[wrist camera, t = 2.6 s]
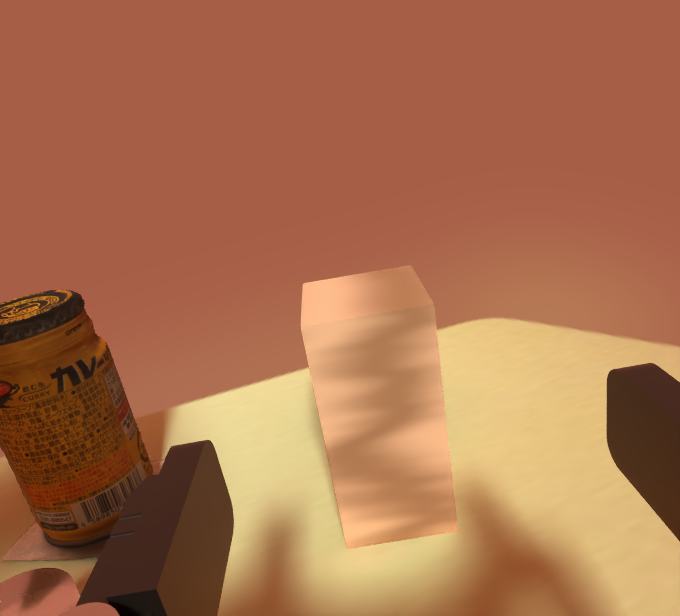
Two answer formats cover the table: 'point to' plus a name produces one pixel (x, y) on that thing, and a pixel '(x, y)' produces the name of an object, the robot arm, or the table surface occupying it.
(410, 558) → the table surface
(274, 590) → the table surface
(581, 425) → the table surface
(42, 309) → the condiment
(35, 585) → the metal cylinder
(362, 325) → the maple block
